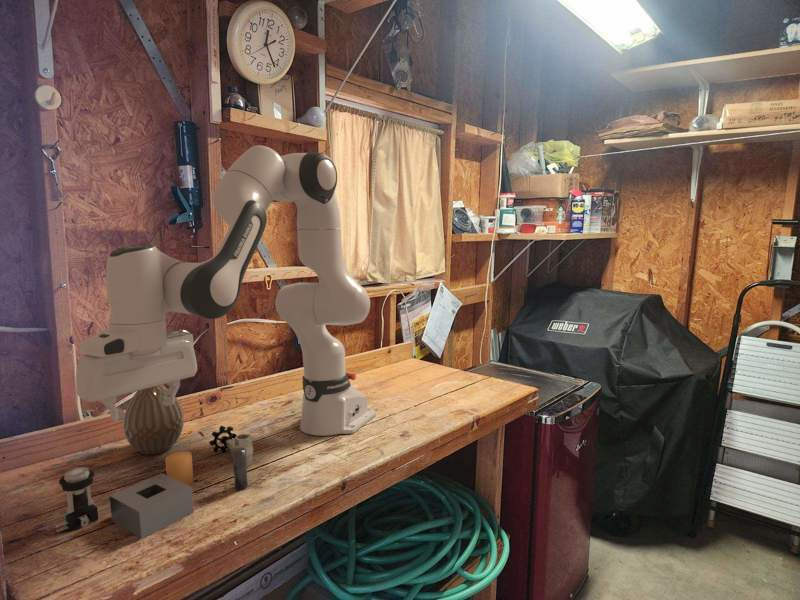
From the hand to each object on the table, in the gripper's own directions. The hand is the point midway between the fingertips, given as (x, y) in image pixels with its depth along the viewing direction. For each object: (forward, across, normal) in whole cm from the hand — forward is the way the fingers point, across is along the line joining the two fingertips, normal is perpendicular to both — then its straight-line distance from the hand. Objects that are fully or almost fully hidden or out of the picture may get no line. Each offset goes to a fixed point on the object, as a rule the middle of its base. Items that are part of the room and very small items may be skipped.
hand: (144, 412), depth 90 cm
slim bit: (+20, -16, +5) cm, 26 cm away
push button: (+21, +9, -9) cm, 24 cm away
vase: (+20, -17, -28) cm, 39 cm away
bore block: (+20, 0, 0) cm, 20 cm away
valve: (+20, -24, -7) cm, 32 cm away
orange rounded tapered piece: (+20, -10, -7) cm, 24 cm away
